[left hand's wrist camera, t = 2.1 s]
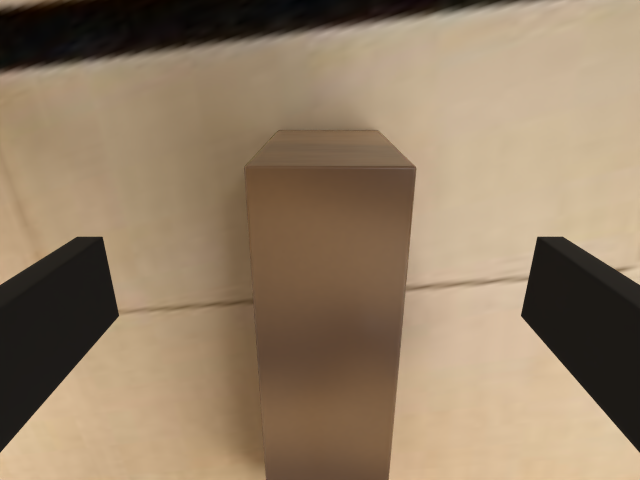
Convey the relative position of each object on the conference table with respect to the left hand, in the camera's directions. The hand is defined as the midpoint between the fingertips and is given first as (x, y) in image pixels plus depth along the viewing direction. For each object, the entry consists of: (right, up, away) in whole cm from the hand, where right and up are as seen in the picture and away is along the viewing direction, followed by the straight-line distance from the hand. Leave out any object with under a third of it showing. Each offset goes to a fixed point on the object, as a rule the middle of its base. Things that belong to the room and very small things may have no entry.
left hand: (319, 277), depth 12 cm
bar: (0, -4, +11) cm, 12 cm away
